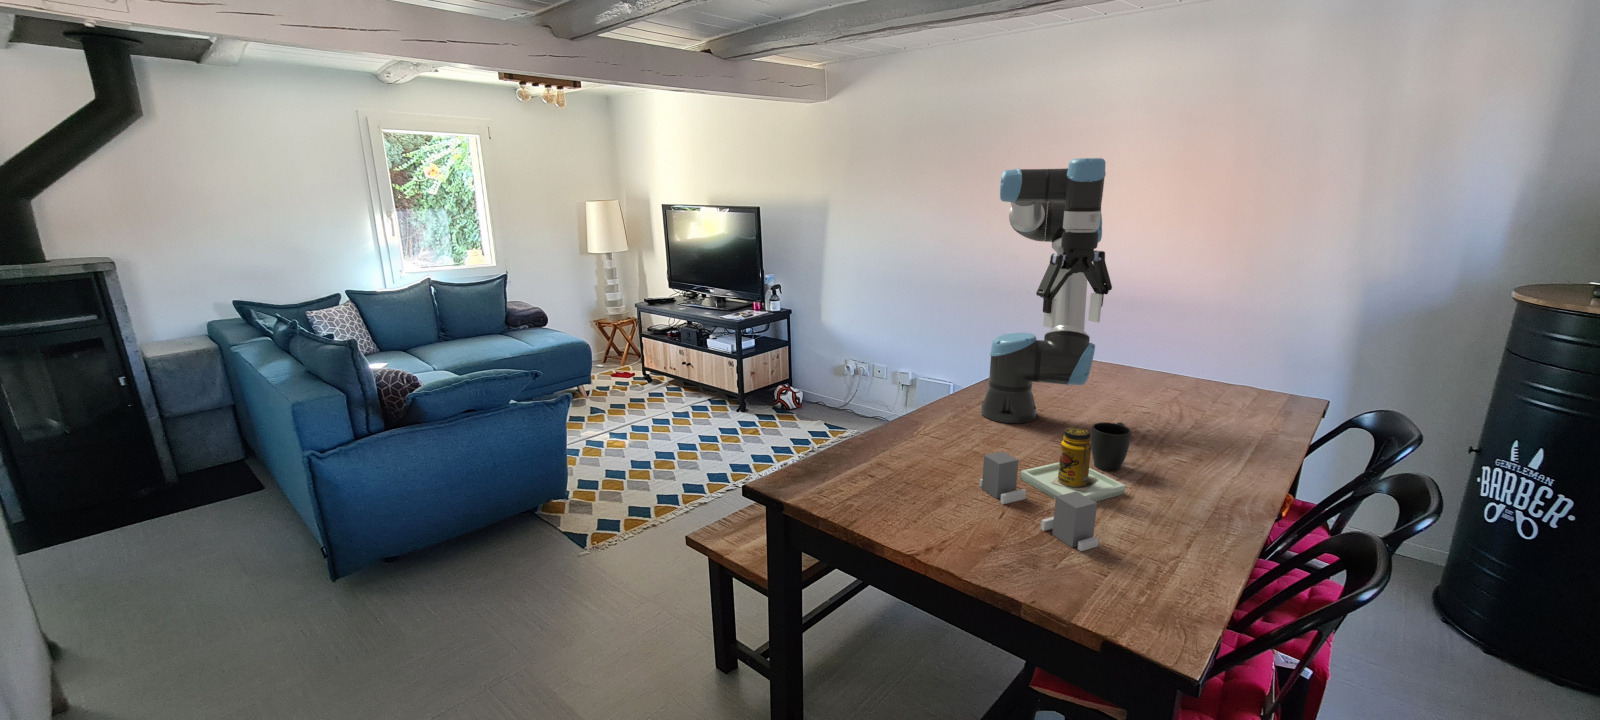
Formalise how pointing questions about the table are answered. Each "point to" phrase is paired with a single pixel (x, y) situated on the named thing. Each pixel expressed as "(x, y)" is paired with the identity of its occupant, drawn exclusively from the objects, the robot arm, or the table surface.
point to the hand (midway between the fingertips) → (1071, 324)
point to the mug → (1109, 445)
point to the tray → (1096, 492)
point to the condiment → (1075, 460)
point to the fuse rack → (1070, 509)
